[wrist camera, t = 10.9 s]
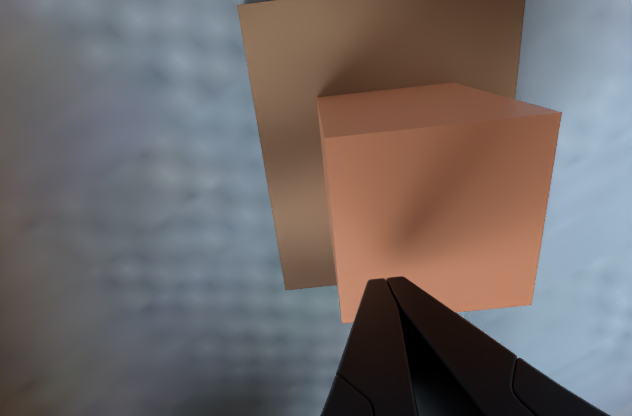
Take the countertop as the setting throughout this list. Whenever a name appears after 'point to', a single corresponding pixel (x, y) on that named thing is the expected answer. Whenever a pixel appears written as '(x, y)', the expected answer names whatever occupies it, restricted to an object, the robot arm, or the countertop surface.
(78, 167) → the countertop surface
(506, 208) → the salmon orange block
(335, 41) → the stand
